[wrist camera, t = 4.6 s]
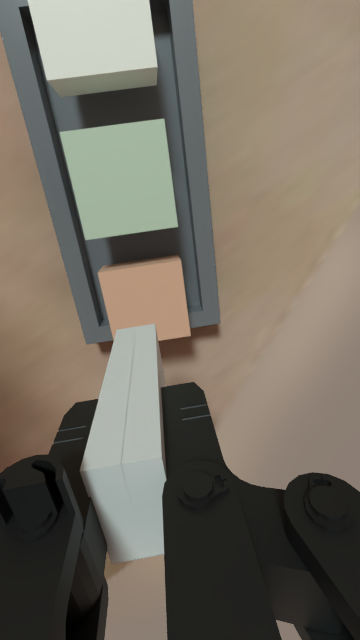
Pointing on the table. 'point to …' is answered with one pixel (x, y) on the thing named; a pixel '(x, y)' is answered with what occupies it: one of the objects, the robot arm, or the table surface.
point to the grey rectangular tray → (112, 109)
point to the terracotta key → (146, 296)
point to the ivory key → (95, 44)
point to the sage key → (121, 178)
